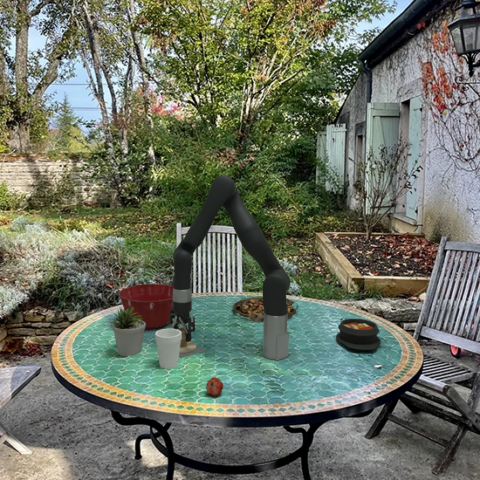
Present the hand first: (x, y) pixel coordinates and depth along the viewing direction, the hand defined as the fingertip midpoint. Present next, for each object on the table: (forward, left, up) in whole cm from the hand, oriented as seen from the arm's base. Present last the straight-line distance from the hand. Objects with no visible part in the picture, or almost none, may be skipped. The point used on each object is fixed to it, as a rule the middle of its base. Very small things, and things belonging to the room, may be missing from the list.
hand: (182, 338), depth 191 cm
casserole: (-40, -62, -5) cm, 74 cm away
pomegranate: (-37, +13, -5) cm, 40 cm away
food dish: (+15, -62, -5) cm, 64 cm away
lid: (0, 0, -4) cm, 4 cm away
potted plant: (+11, +18, -5) cm, 22 cm away
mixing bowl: (+35, -7, -5) cm, 36 cm away
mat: (0, 0, -5) cm, 5 cm away
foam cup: (-10, +13, -5) cm, 17 cm away
